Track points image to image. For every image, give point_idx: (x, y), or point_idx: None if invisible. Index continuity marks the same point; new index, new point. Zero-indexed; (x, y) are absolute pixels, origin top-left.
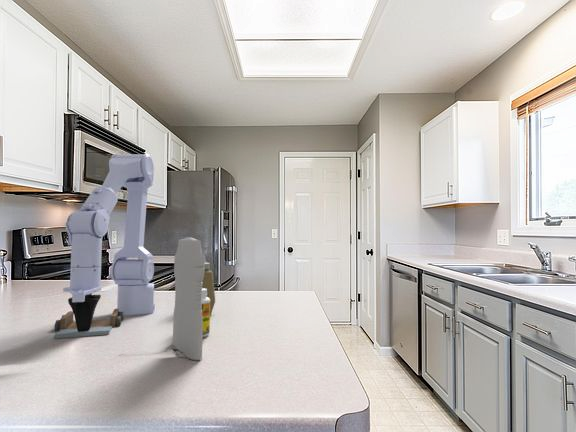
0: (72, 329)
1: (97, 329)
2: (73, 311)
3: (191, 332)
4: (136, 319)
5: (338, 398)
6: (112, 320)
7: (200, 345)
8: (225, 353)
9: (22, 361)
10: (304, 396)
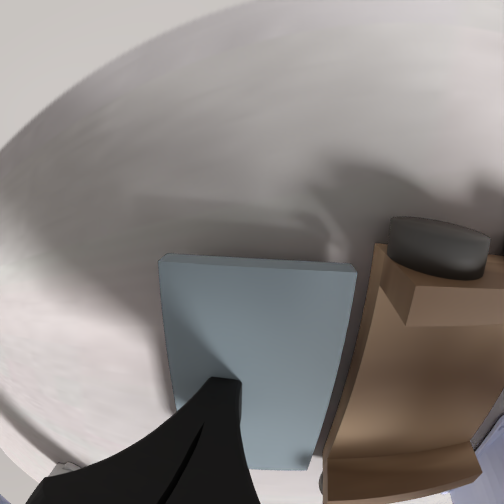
0: (314, 342)
1: None
2: (116, 454)
3: None
4: None
5: (15, 461)
6: (325, 487)
7: None
8: None
9: (20, 180)
10: (11, 453)
